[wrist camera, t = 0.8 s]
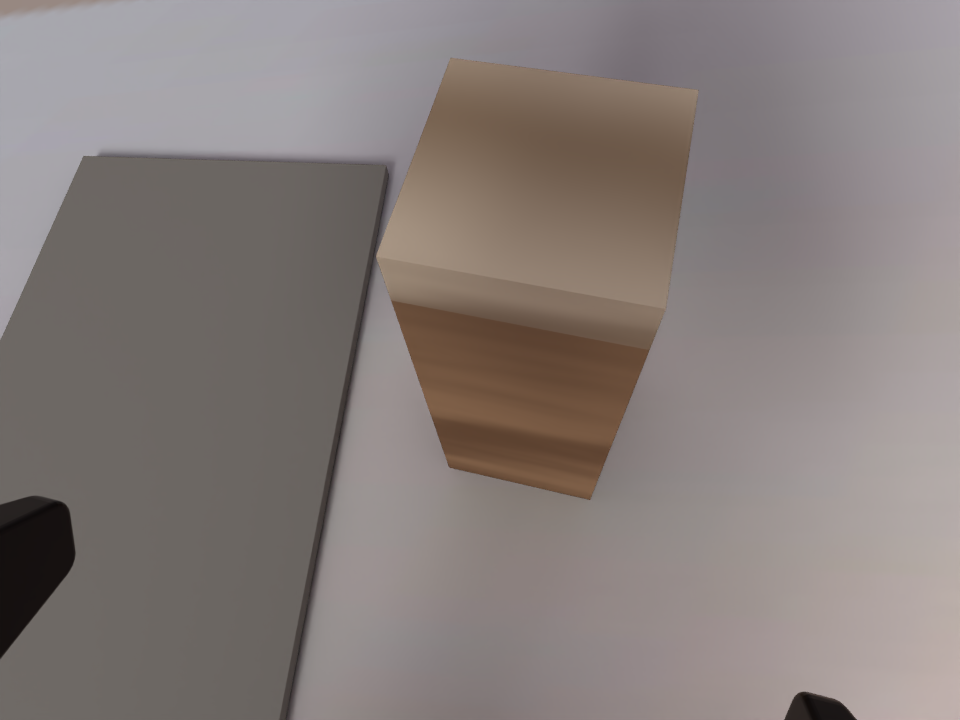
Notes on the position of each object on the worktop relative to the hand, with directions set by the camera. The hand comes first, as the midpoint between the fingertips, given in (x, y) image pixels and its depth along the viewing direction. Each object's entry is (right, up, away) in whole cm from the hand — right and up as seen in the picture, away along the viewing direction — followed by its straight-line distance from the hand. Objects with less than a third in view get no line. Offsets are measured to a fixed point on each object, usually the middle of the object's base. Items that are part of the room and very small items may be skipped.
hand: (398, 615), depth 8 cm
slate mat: (-11, +1, +17) cm, 20 cm away
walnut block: (+3, +1, +16) cm, 16 cm away
